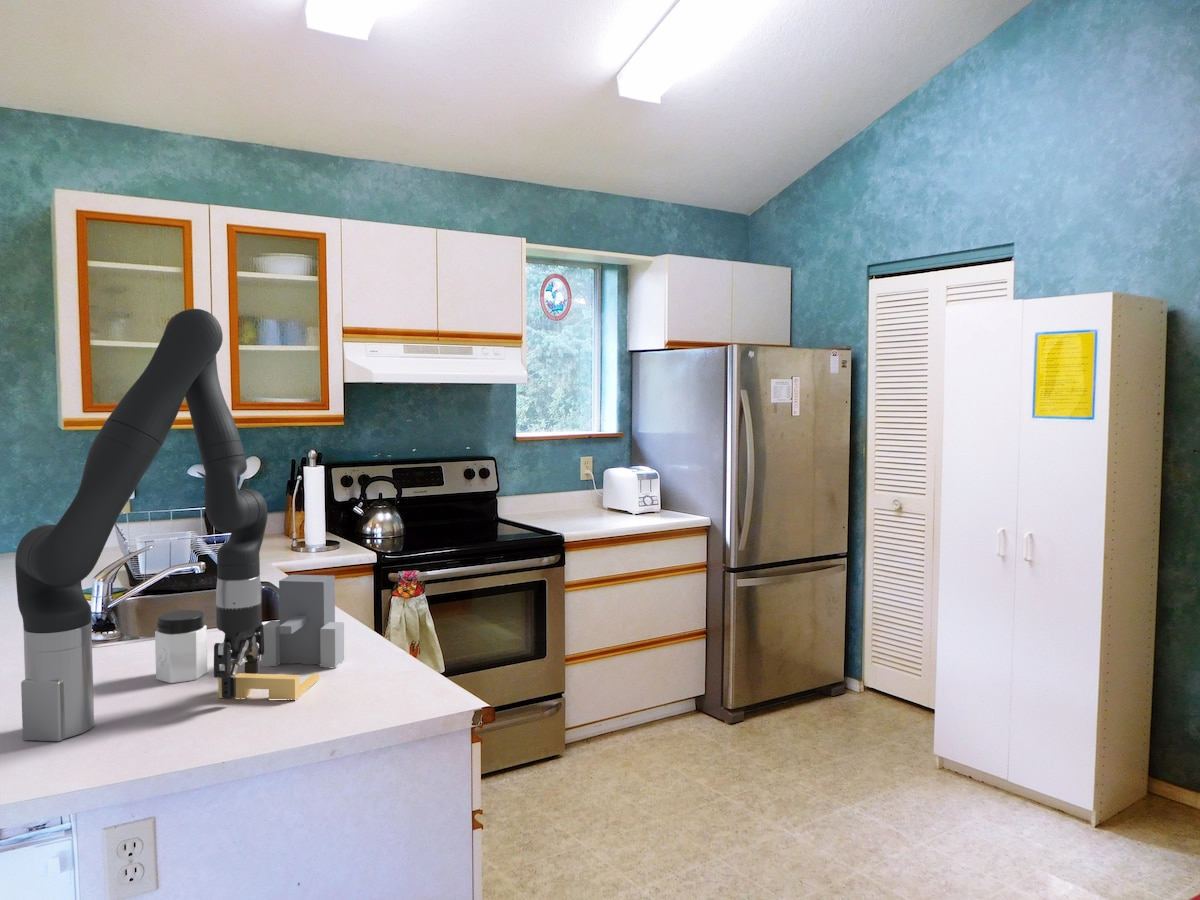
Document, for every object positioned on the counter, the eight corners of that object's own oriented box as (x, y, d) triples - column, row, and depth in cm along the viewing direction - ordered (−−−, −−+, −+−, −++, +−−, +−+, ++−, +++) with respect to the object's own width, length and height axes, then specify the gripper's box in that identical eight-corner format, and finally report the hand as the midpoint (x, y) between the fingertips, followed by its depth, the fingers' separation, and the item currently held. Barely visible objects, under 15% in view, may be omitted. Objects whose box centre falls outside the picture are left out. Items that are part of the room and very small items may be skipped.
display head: (324, 678, 164) (323, 591, 162) (247, 675, 164) (246, 589, 163) (349, 656, 177) (348, 576, 176) (278, 654, 178) (277, 574, 177)
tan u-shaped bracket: (295, 701, 151) (294, 679, 151) (218, 698, 152) (218, 676, 152) (319, 680, 163) (318, 659, 162) (247, 677, 163) (247, 657, 163)
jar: (147, 677, 163) (146, 616, 162) (186, 666, 170) (185, 607, 169) (176, 686, 158) (175, 623, 157) (215, 674, 165) (214, 613, 164)
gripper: (240, 612, 145) (242, 704, 146) (276, 592, 159) (277, 677, 160) (197, 611, 145) (199, 703, 146) (237, 591, 159) (239, 676, 160)
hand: (240, 689), depth 153 cm, fingers open, 8 cm apart
